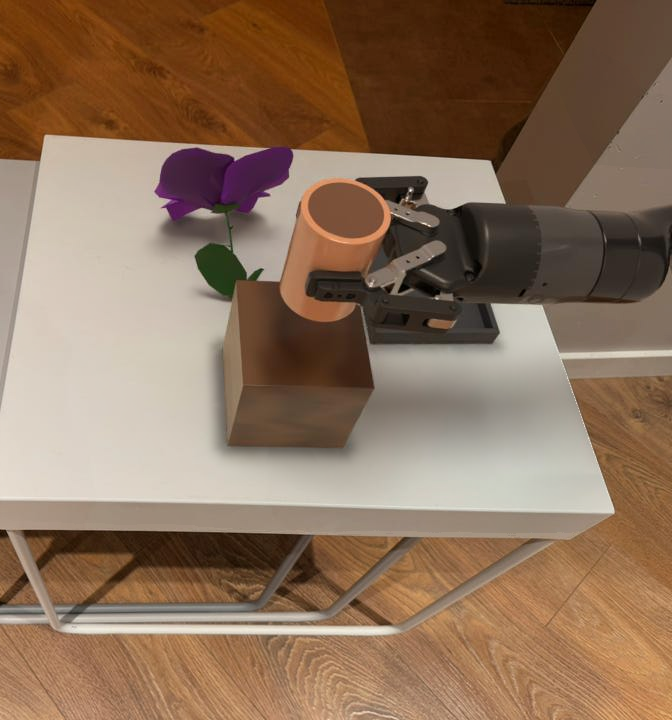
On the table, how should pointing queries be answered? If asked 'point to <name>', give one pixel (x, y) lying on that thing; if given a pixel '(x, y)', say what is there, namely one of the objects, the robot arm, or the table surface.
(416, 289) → the robot arm
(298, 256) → the cup
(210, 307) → the table surface
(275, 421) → the block
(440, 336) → the tray
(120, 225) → the table surface
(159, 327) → the table surface
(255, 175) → the flower
